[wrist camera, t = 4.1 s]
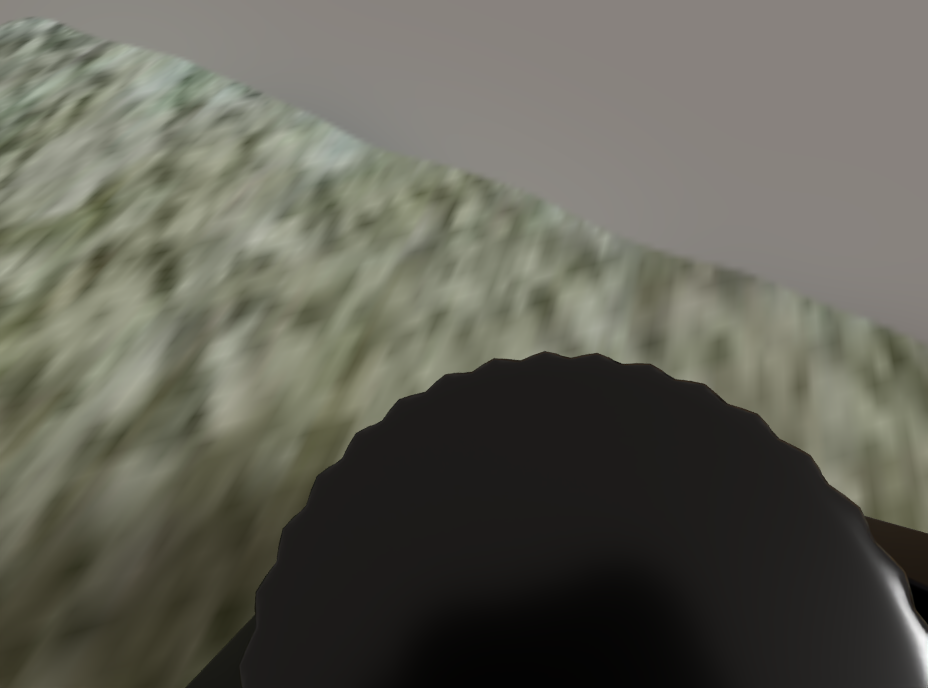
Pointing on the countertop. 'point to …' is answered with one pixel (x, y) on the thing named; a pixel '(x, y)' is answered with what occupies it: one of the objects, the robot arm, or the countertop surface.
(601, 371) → the supplement bottle
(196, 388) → the countertop surface
